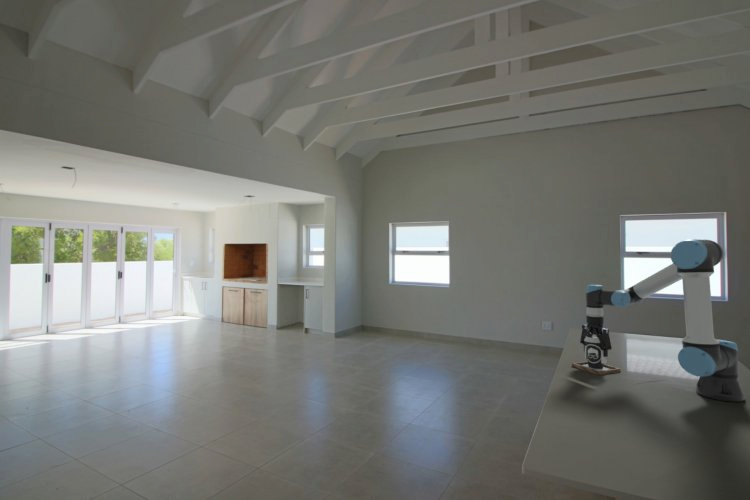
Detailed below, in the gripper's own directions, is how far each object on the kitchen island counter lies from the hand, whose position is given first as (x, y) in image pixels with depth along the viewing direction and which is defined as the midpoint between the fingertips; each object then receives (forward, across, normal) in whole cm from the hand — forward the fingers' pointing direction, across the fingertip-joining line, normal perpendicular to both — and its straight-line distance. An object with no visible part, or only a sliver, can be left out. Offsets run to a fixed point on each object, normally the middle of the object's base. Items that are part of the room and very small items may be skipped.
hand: (595, 360), depth 198 cm
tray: (+5, 0, 0) cm, 5 cm away
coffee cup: (+3, 0, 0) cm, 3 cm away
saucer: (+4, 0, 0) cm, 4 cm away
